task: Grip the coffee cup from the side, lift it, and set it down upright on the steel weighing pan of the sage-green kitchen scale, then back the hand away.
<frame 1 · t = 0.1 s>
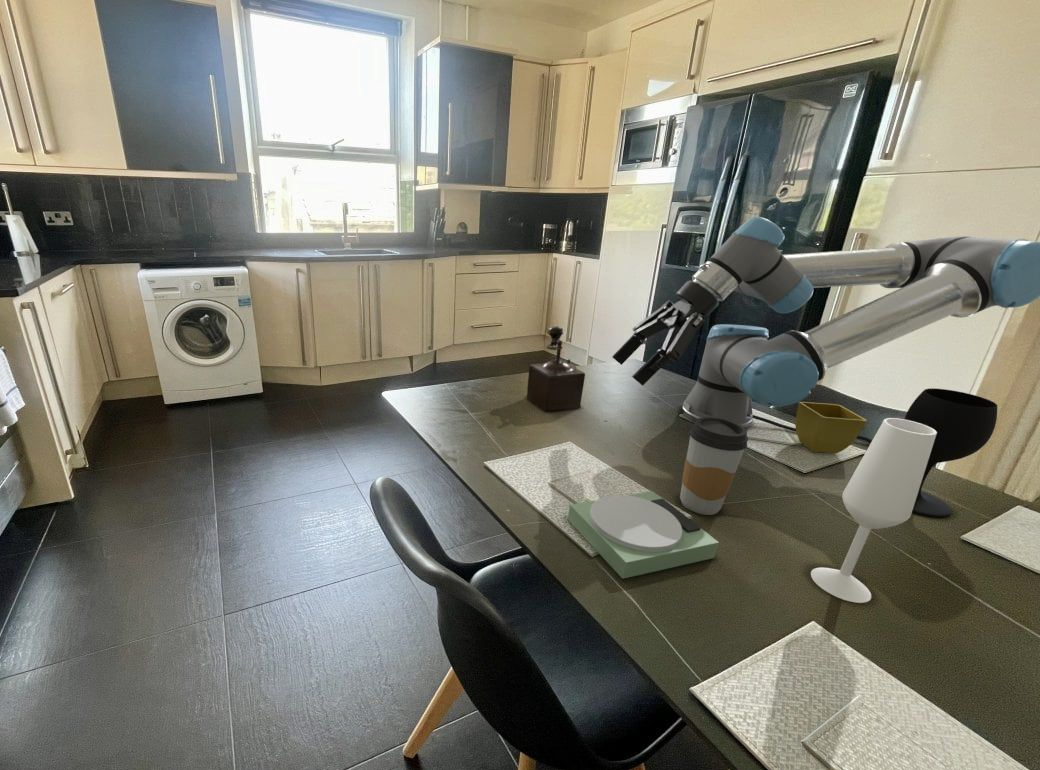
hand: (626, 370, 103), 15 cm above the table, tool tilted 35°, fingers open, 13 cm apart
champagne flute: (839, 585, 67), on the table
wine glass: (910, 501, 87), on the table
brown coffee grinder: (548, 399, 127), on the table
flower pot: (817, 448, 106), on the table
kitchen scale: (637, 537, 74), on the table
coffee cup: (699, 505, 83), on the table
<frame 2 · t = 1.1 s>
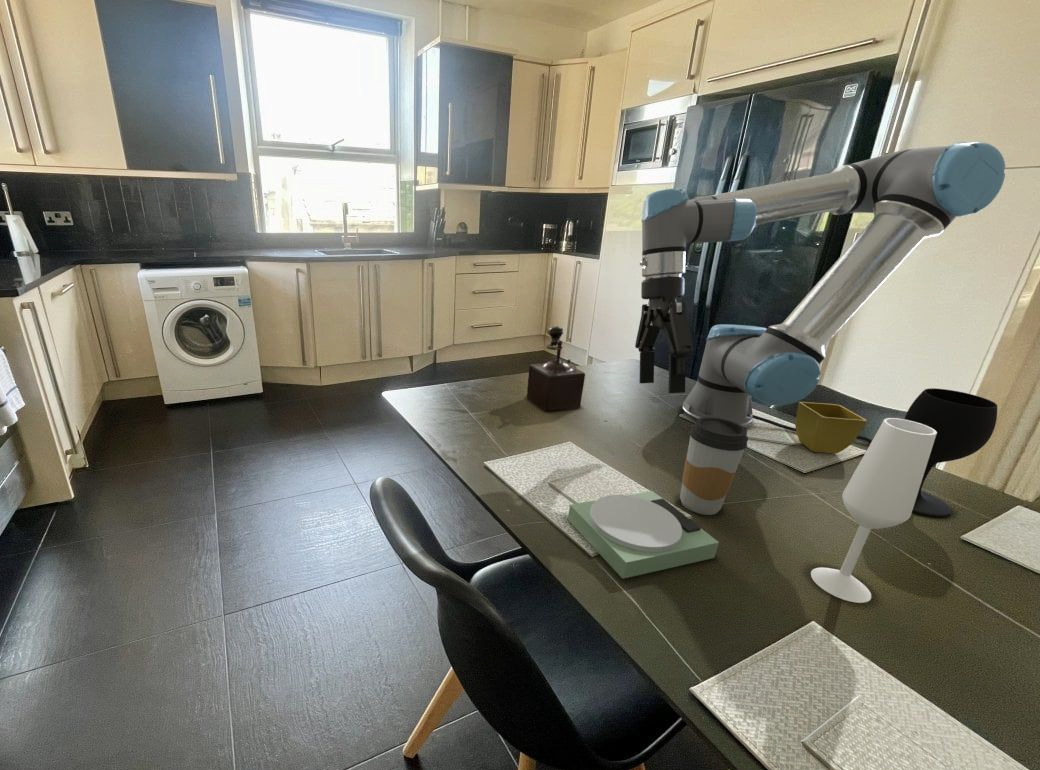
hand: (660, 387, 96), 14 cm above the table, tool pointing down, fingers open, 13 cm apart
nothing on the table moved.
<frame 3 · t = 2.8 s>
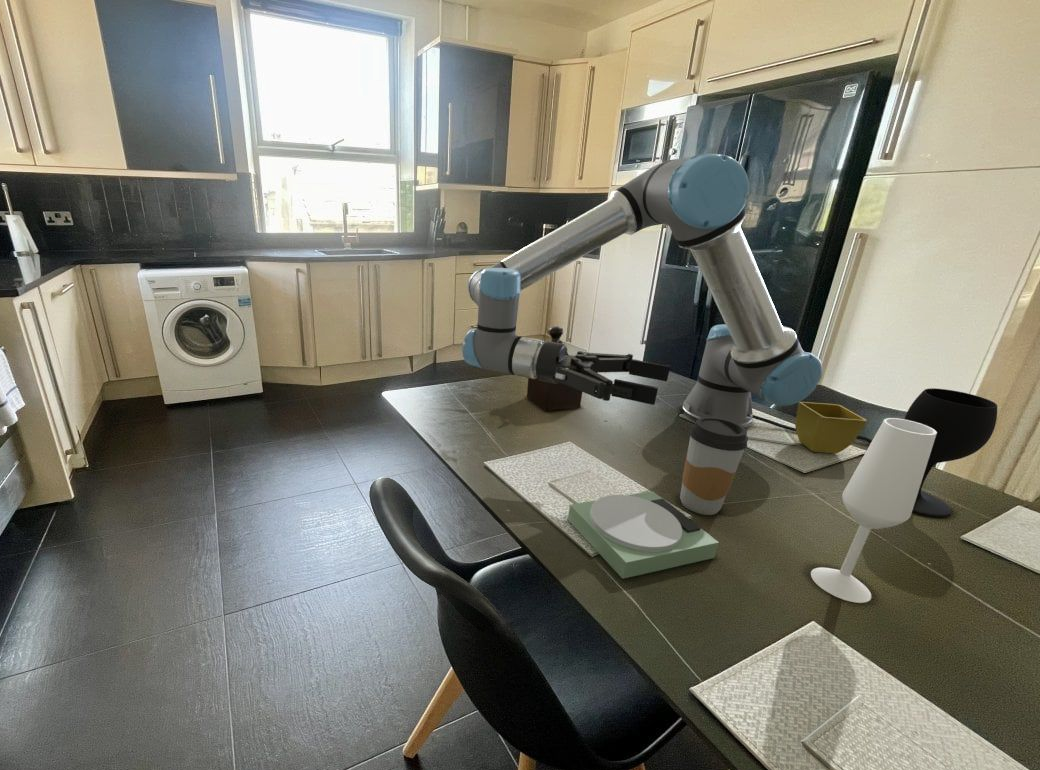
hand: (663, 384, 80), 20 cm above the table, tool horizontal, fingers open, 13 cm apart
nothing on the table moved.
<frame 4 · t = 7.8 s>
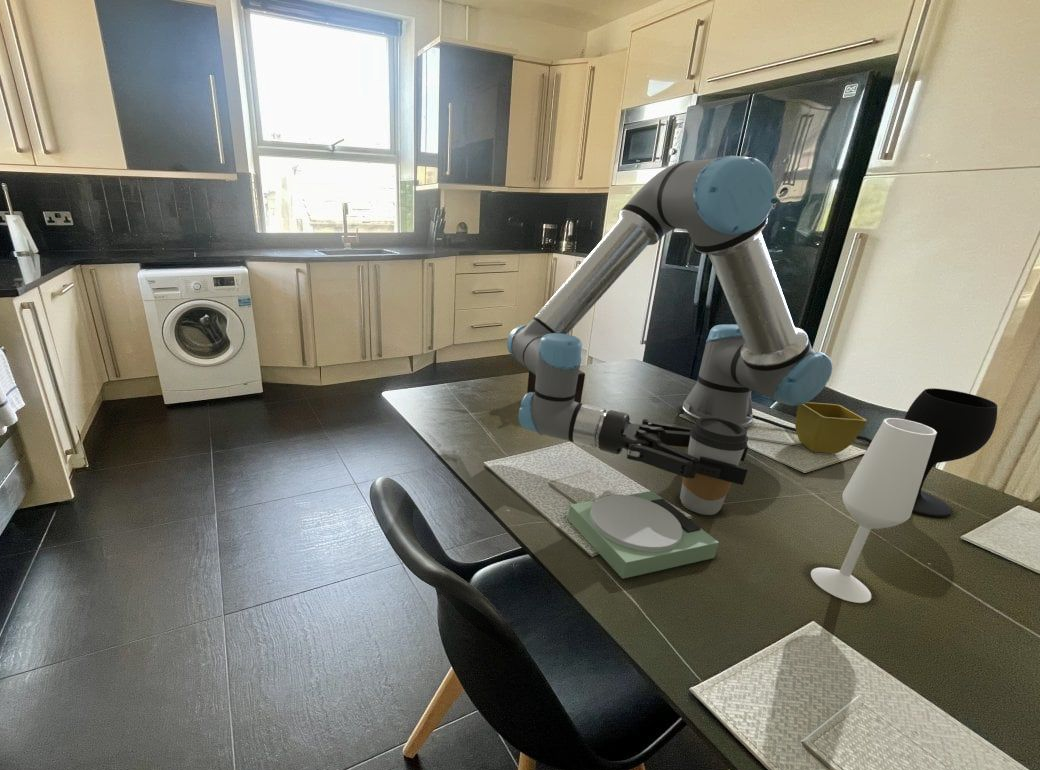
hand: (745, 464, 78), 9 cm above the table, tool horizontal, fingers closed on coffee cup, 8 cm apart
coffee cup: (699, 505, 83), on the table, touching gripper
everything else where it was.
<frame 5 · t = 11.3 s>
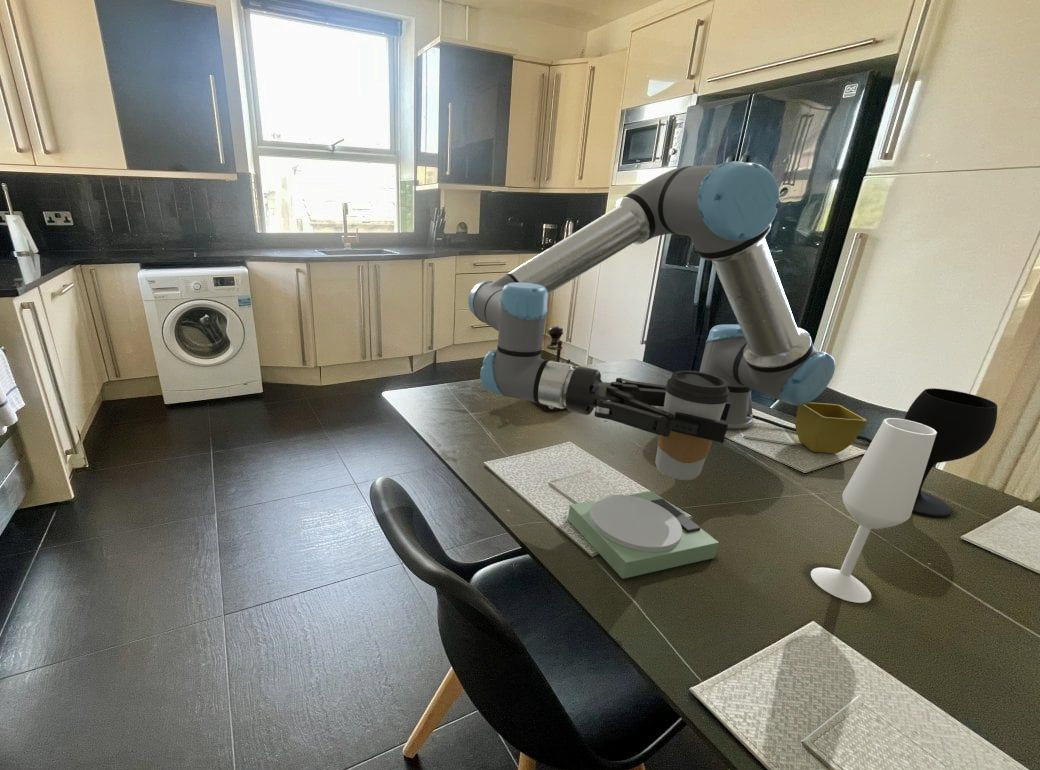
hand: (726, 421, 69), 19 cm above the table, tool horizontal, fingers closed on coffee cup, 8 cm apart
coffee cup: (676, 471, 75), point 10 cm above the table, touching gripper
everything else where it was.
when the fingers open (13 cm above the table, at t = 14.7 s): coffee cup stays where it is, resting on kitchen scale.
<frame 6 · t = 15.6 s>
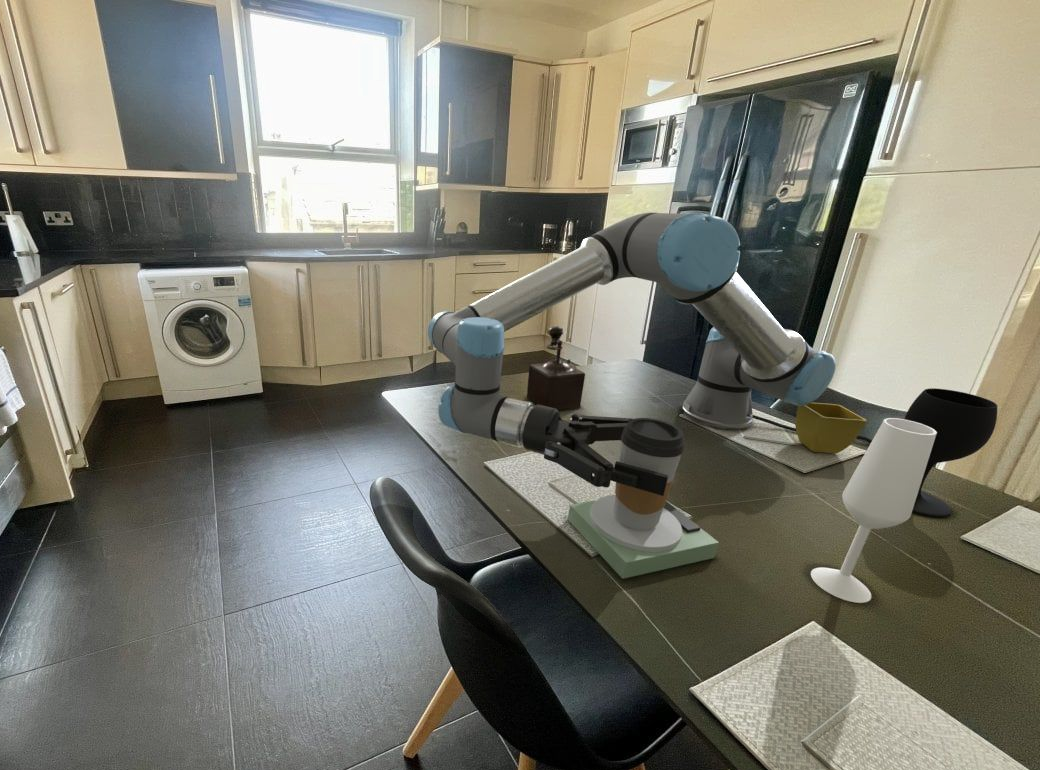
hand: (673, 464, 67), 14 cm above the table, tool horizontal, fingers open, 13 cm apart
coffee cup: (634, 519, 73), point 4 cm above the table, touching kitchen scale
everything else where it was.
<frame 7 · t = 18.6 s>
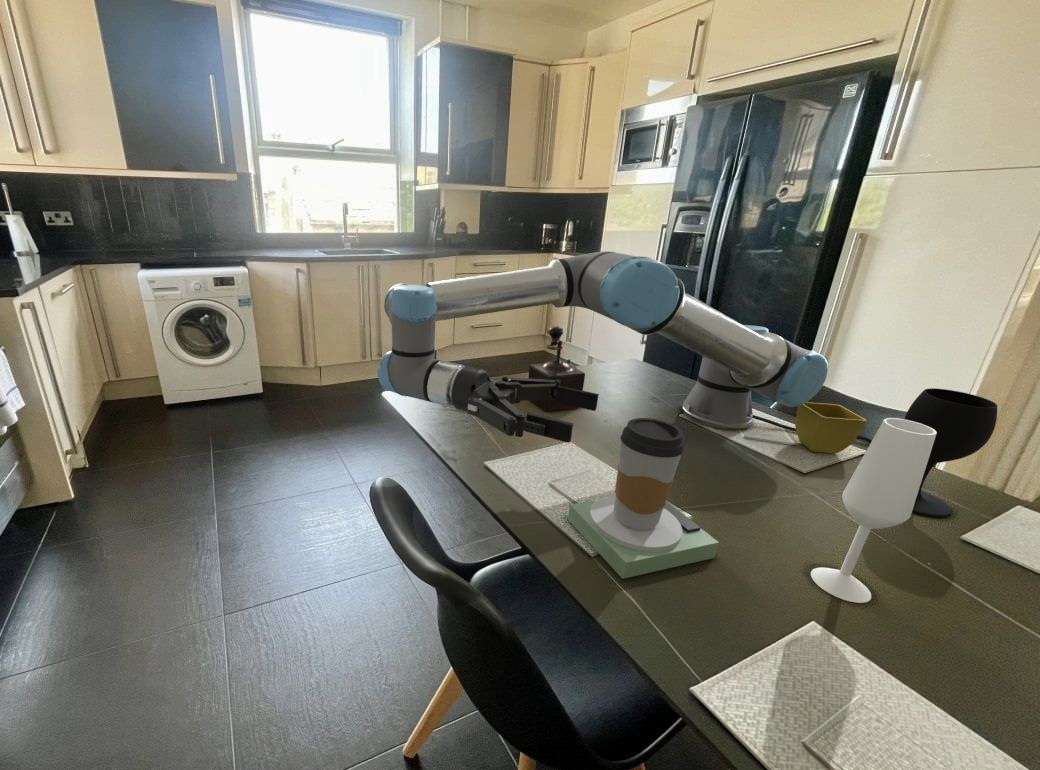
hand: (585, 416, 72), 18 cm above the table, tool horizontal, fingers open, 13 cm apart
nothing on the table moved.
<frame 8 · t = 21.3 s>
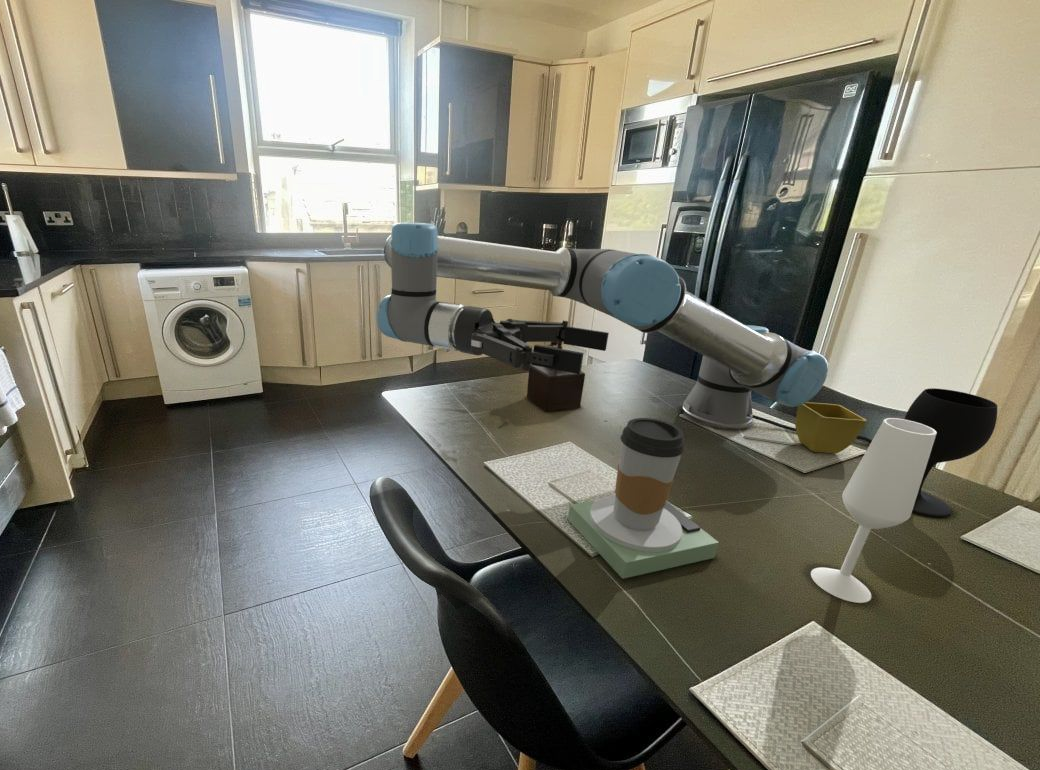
hand: (595, 351, 68), 28 cm above the table, tool horizontal, fingers open, 13 cm apart
nothing on the table moved.
at the end: coffee cup inside the target area on the kitchen scale (0.1 cm from its centre), point 3.5 cm above the kitchen scale's base; coffee cup tilted 0°; the gripper is holding nothing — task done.
